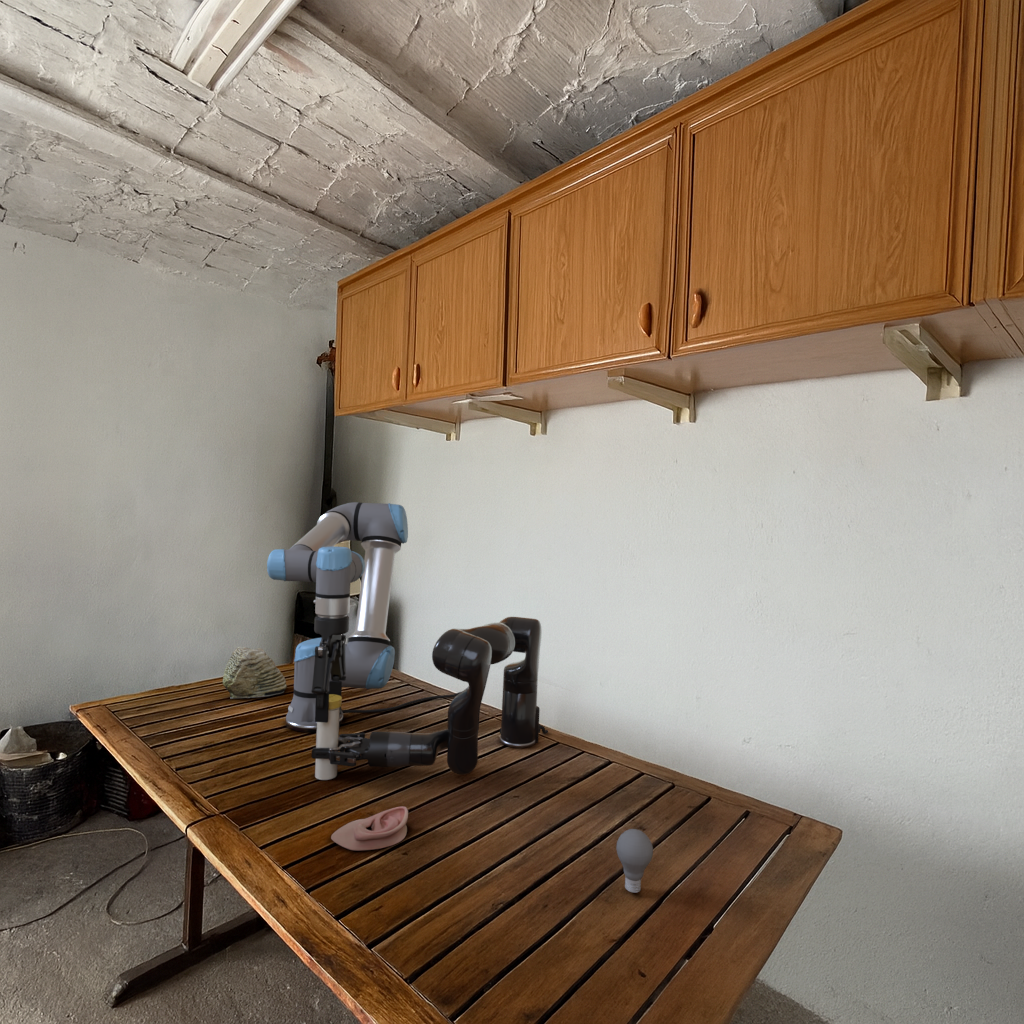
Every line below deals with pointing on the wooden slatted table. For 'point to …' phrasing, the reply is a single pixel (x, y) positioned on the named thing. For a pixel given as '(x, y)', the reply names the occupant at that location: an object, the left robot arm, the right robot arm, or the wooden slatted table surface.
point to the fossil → (252, 674)
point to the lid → (334, 701)
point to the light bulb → (634, 857)
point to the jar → (327, 744)
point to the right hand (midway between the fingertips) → (315, 748)
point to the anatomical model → (374, 830)
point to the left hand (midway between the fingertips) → (328, 715)
